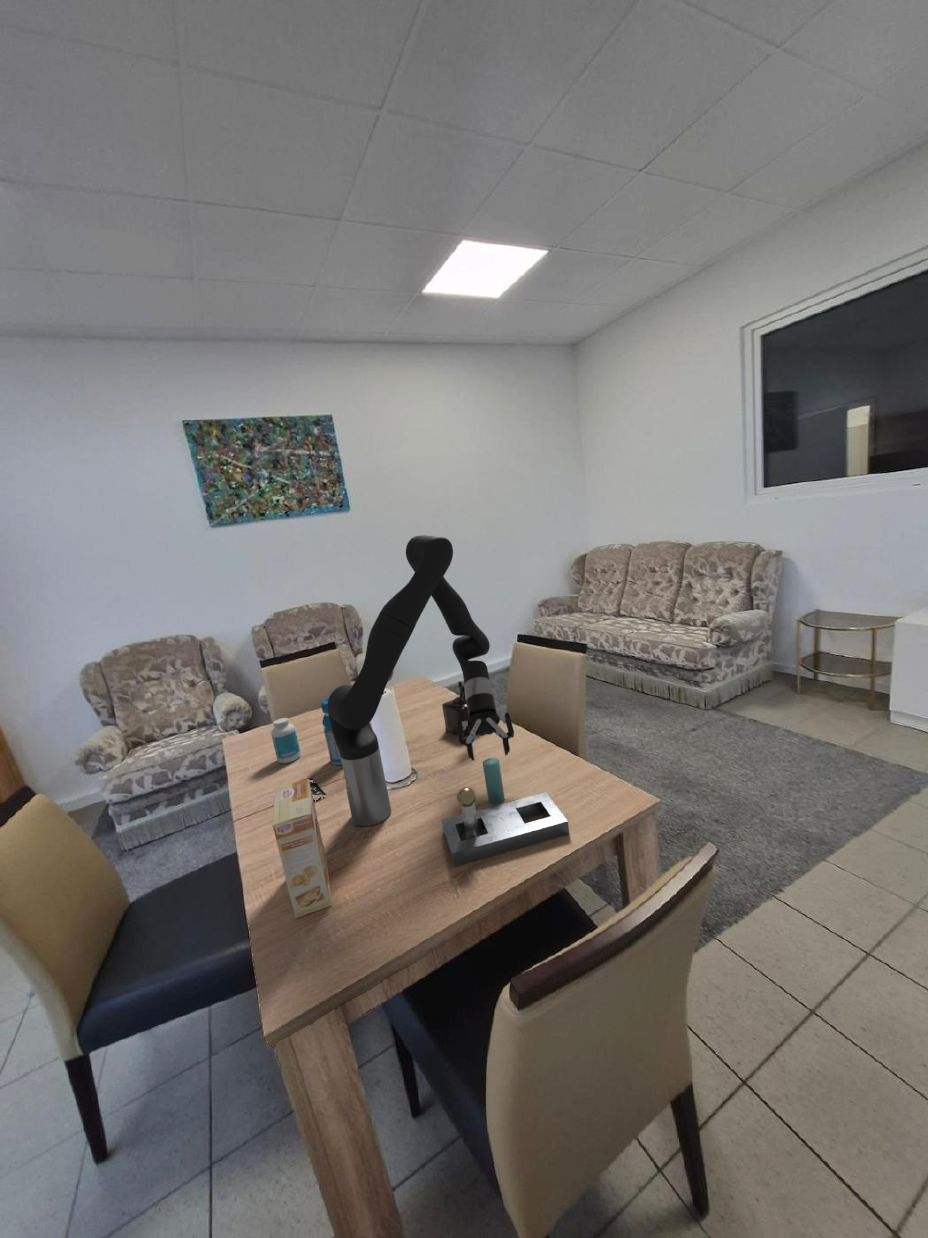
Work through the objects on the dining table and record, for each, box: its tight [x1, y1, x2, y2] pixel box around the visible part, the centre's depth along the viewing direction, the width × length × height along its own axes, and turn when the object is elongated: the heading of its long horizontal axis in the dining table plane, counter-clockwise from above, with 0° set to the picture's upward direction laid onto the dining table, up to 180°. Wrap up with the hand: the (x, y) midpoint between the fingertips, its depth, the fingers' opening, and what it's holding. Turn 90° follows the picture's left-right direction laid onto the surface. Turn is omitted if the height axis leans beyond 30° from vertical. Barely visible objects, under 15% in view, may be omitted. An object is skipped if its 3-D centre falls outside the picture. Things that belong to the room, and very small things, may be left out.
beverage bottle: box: [320, 697, 342, 766], centre depth 149 cm, size 8×8×20 cm
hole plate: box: [441, 786, 570, 868], centre depth 102 cm, size 25×12×12 cm, turn 103°
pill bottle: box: [270, 717, 302, 764], centre depth 156 cm, size 8×7×14 cm
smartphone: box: [308, 777, 327, 802], centre depth 134 cm, size 7×1×15 cm
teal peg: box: [482, 757, 505, 805], centre depth 116 cm, size 4×4×10 cm
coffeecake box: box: [271, 778, 333, 920], centre depth 94 cm, size 15×7×20 cm, turn 20°
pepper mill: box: [441, 681, 472, 737], centre depth 157 cm, size 16×11×18 cm
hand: (489, 757), depth 119 cm, fingers open, 8 cm apart
